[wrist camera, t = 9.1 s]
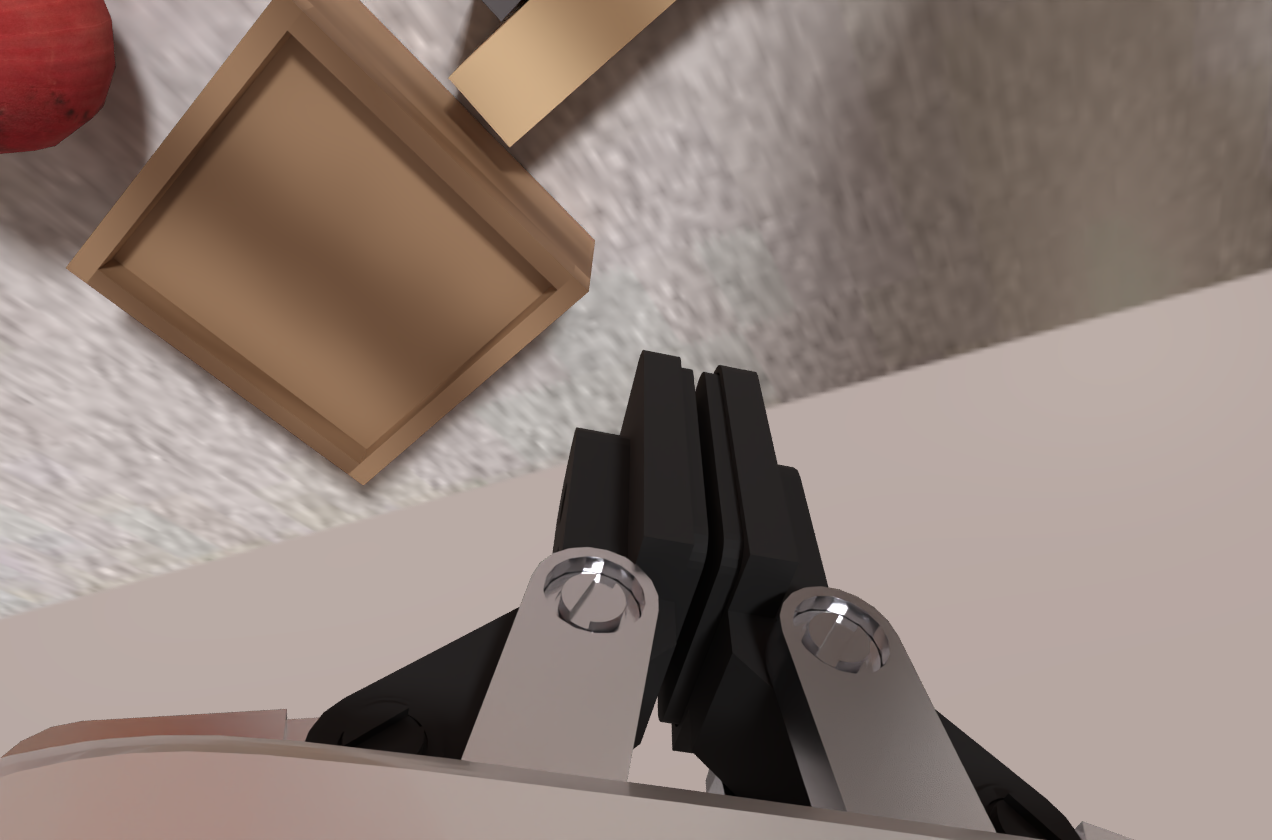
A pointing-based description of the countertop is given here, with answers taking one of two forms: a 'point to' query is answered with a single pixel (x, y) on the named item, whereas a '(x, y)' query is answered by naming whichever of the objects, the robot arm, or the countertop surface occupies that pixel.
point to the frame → (501, 7)
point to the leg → (546, 57)
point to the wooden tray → (338, 237)
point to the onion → (52, 69)
